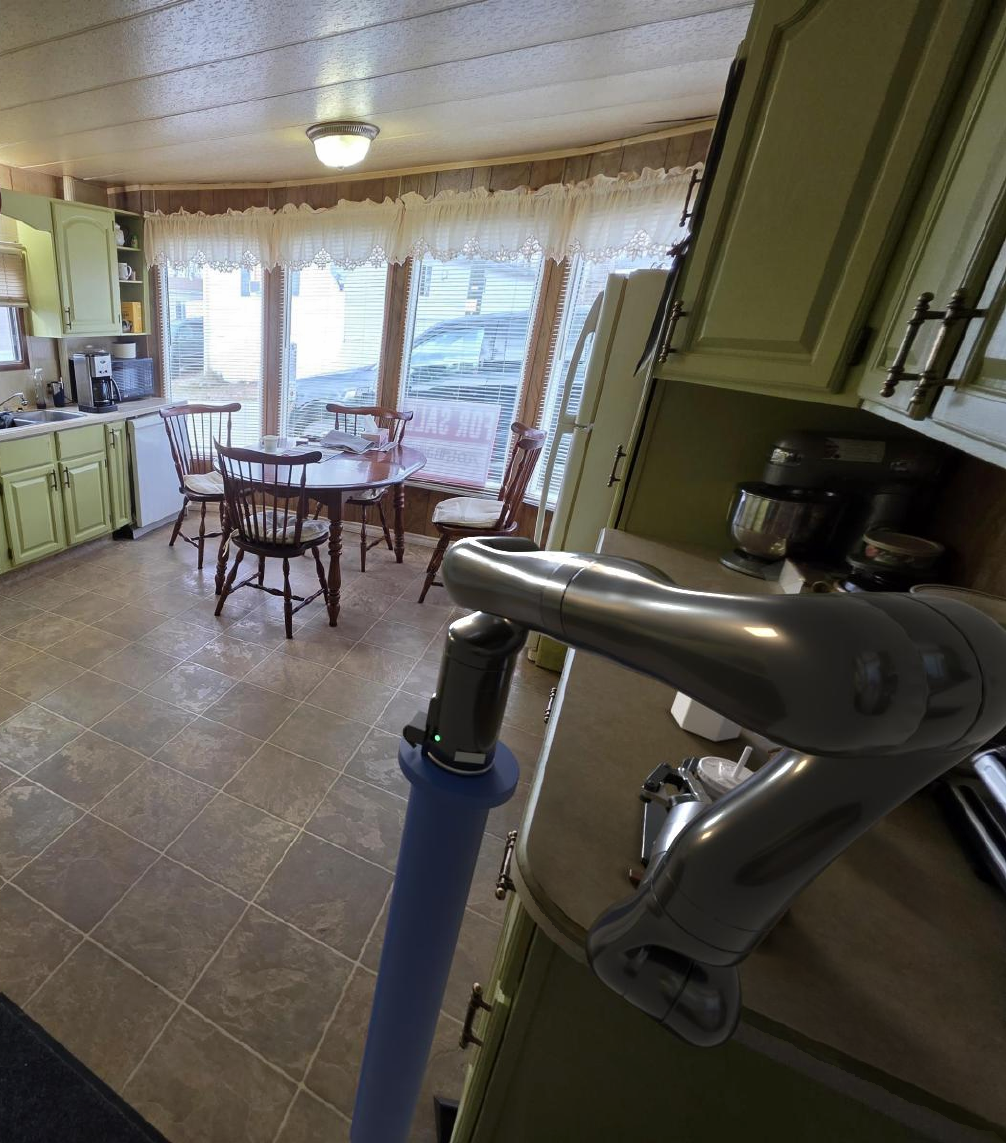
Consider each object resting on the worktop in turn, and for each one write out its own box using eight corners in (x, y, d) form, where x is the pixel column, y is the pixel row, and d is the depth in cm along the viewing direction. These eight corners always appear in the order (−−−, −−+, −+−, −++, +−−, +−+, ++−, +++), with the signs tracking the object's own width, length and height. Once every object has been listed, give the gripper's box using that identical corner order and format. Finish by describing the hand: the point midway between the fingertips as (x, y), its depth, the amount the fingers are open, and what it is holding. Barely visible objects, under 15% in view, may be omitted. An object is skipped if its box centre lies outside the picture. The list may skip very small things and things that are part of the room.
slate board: (640, 862, 71) (642, 857, 71) (644, 800, 80) (646, 796, 80) (781, 920, 65) (784, 915, 64) (768, 846, 74) (771, 841, 74)
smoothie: (685, 852, 71) (730, 758, 66) (661, 812, 77) (701, 722, 72) (744, 863, 70) (796, 769, 65) (716, 821, 76) (761, 732, 71)
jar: (705, 745, 91) (732, 678, 87) (658, 713, 99) (681, 649, 94) (750, 736, 94) (779, 670, 89) (701, 706, 101) (725, 643, 96)
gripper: (808, 875, 55) (821, 784, 66) (630, 791, 64) (668, 724, 75) (777, 932, 58) (795, 836, 69) (611, 844, 67) (651, 772, 78)
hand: (729, 778), depth 72 cm, fingers closed on smoothie, 6 cm apart
